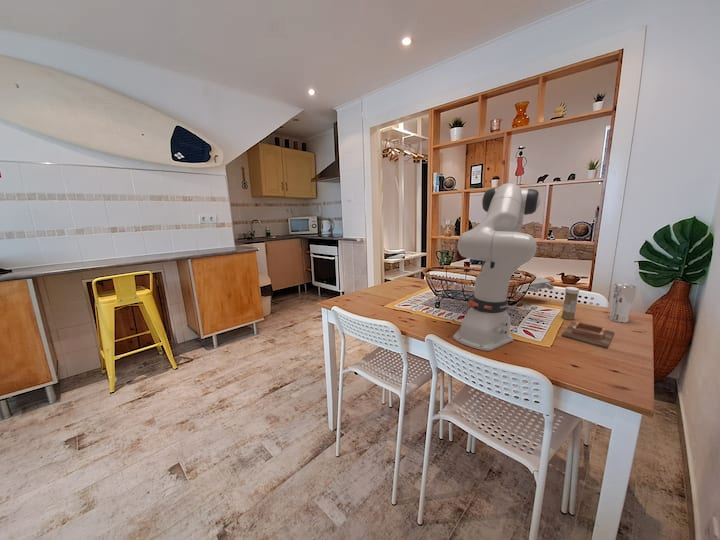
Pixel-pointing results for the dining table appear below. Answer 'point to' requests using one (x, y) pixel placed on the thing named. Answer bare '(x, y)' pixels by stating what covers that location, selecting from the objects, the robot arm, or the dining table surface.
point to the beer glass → (622, 301)
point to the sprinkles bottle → (570, 303)
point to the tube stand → (588, 334)
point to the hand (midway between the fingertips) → (544, 289)
